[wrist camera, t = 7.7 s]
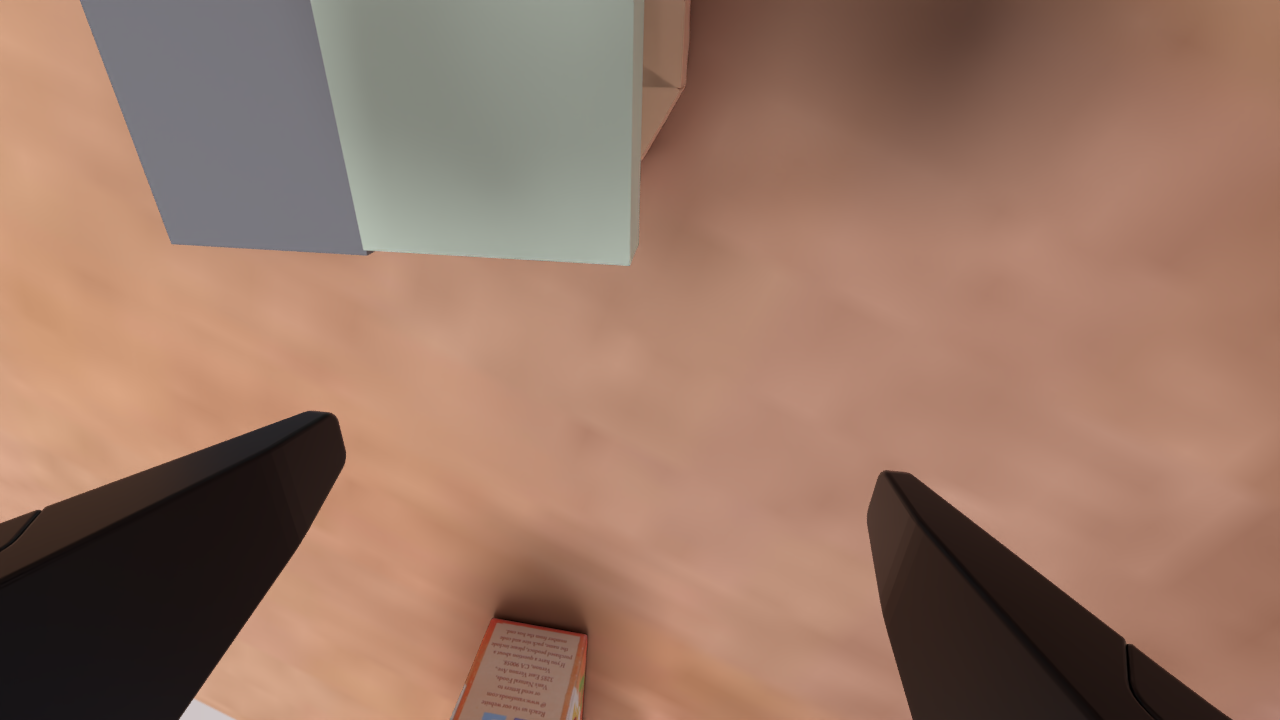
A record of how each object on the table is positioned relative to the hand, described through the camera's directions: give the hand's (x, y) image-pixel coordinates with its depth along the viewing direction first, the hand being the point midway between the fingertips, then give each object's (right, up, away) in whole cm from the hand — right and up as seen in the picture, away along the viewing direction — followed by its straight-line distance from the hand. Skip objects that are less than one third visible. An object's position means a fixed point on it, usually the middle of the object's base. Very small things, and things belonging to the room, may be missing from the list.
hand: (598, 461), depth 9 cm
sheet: (-3, +10, +5) cm, 11 cm away
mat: (-13, +11, +10) cm, 20 cm away
